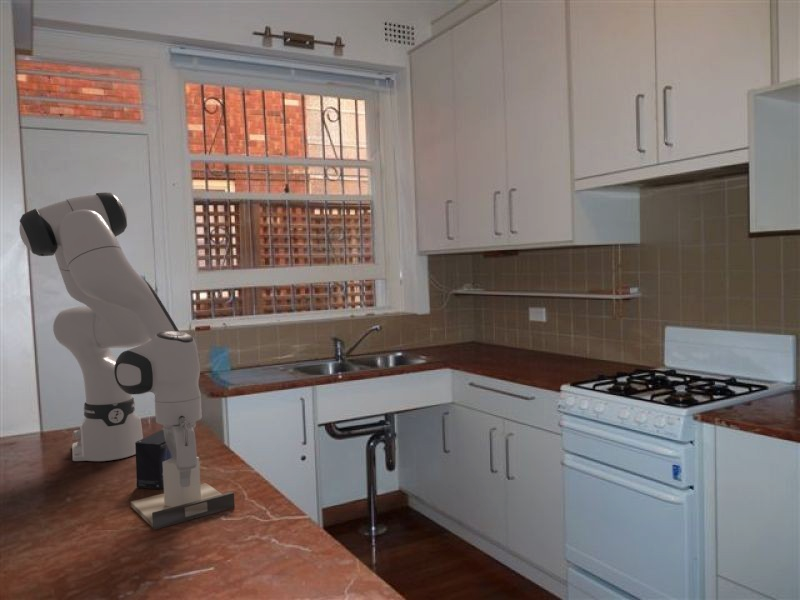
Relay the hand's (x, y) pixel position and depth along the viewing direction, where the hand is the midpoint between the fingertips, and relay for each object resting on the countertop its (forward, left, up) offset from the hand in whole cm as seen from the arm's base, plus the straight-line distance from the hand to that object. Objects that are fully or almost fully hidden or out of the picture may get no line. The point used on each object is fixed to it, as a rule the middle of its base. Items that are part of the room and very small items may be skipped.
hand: (181, 478), depth 130 cm
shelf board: (-1, 0, -6) cm, 6 cm away
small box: (-19, +2, -6) cm, 20 cm away
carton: (0, 0, -5) cm, 5 cm away
